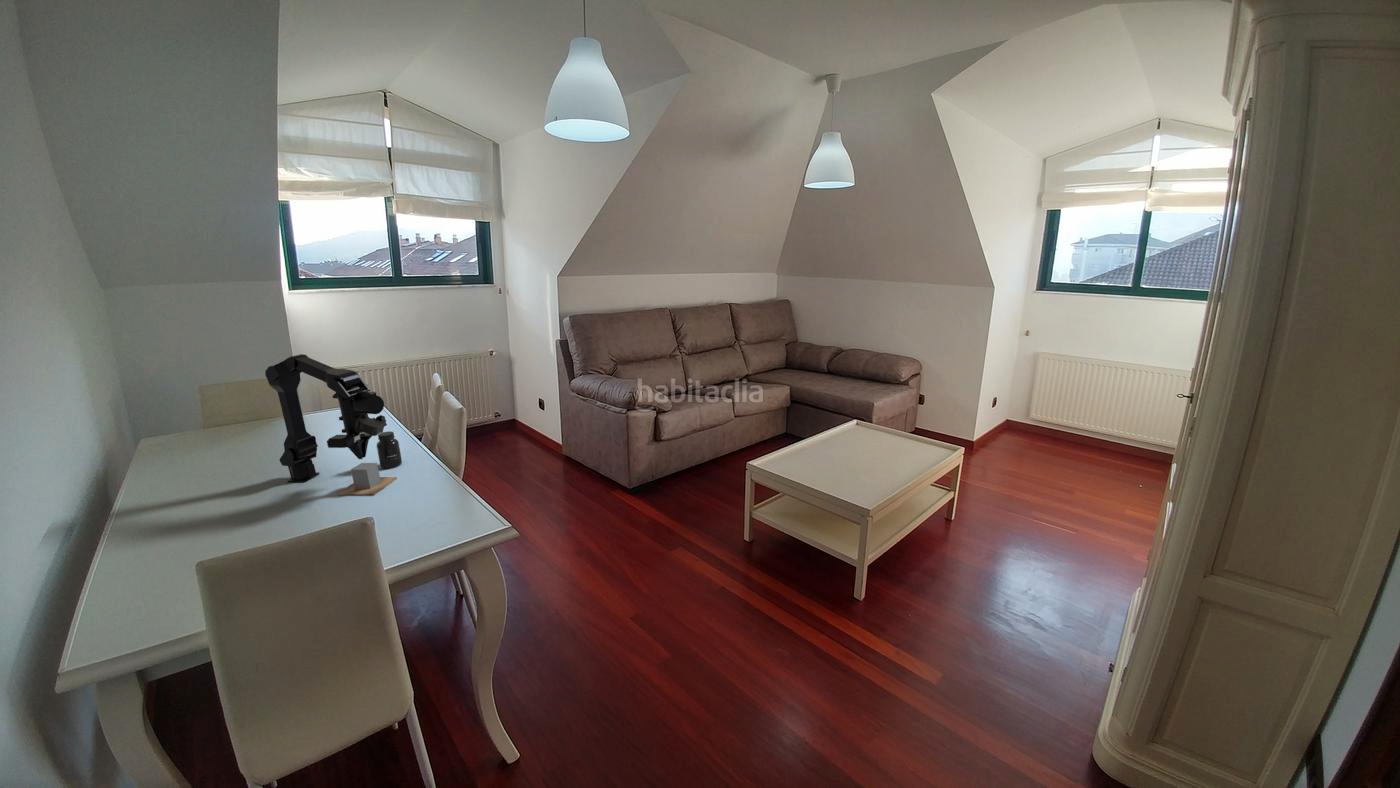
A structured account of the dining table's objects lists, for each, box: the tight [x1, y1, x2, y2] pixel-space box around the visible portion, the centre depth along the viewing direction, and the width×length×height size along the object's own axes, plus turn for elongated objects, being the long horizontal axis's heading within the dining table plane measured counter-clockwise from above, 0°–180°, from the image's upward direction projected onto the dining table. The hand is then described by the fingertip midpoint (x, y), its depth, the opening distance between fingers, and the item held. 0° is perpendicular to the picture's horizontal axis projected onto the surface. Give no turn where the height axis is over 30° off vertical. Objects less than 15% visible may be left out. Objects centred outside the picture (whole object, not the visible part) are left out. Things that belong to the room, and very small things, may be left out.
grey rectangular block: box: [350, 462, 381, 489], centre depth 173 cm, size 5×5×7 cm
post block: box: [336, 476, 398, 496], centre depth 173 cm, size 12×12×6 cm
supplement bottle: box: [376, 431, 403, 470], centre depth 189 cm, size 7×7×12 cm
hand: (362, 458), depth 171 cm, fingers closed
